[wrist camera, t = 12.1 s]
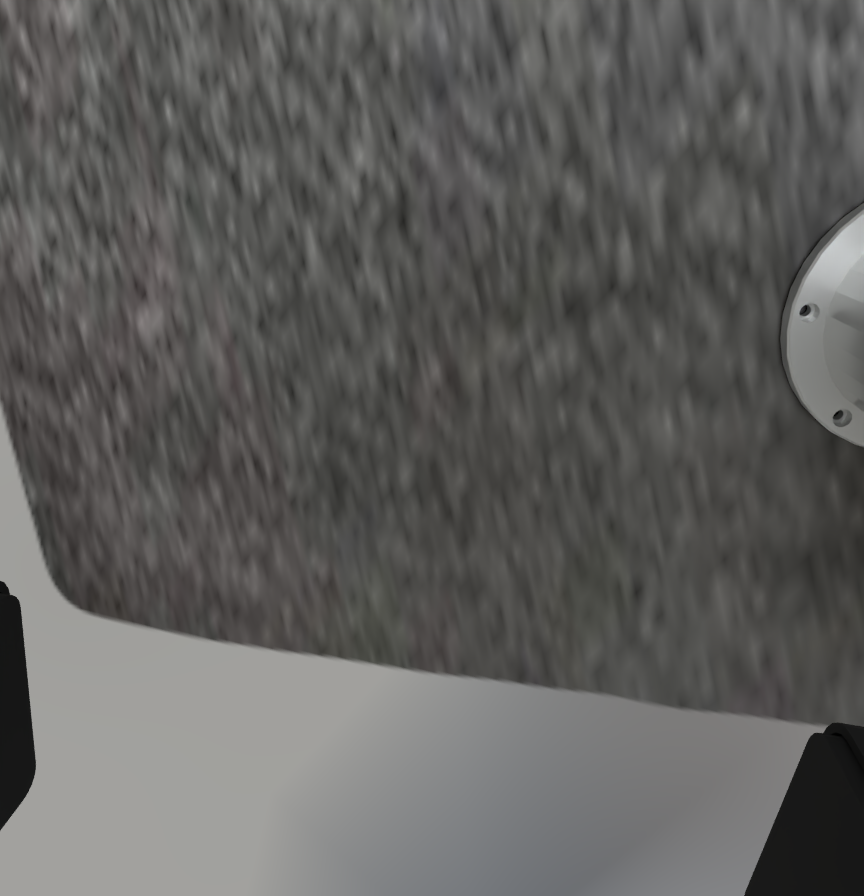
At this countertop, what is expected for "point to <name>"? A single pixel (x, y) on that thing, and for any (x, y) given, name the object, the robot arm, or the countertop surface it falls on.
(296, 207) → the countertop surface
